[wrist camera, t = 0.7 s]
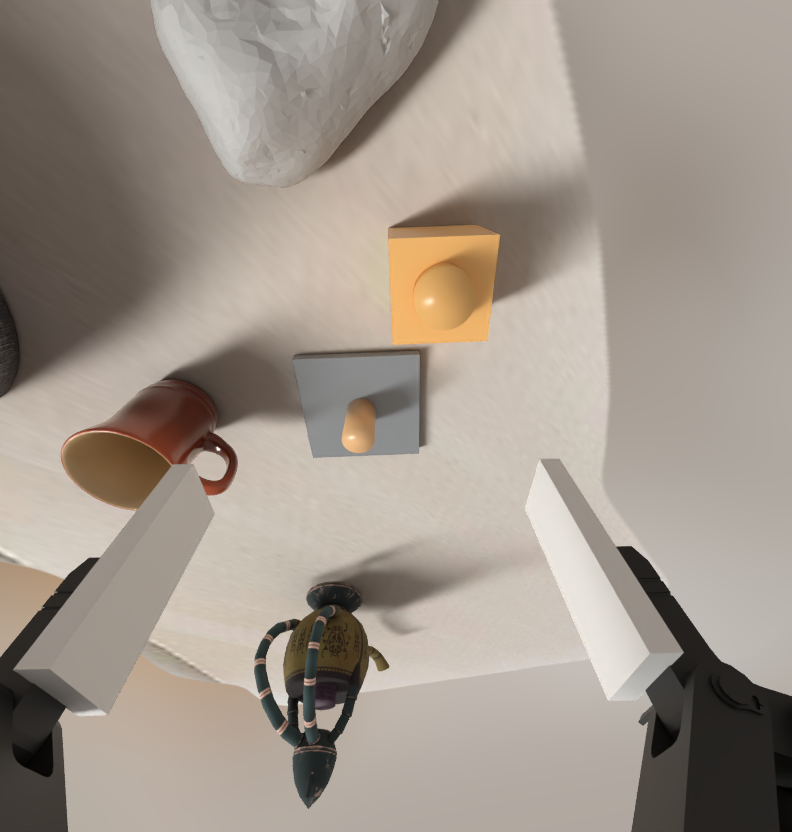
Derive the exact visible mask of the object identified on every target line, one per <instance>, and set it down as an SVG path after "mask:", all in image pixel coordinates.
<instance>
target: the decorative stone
mask: <svg viewBox="0 0 792 832" xmlns="http://www.w3.org/2000/svg"><path fill="white" fill-rule="evenodd" d="M438 2H439V0H150V4H151V8H152V13H153V19H154V25H155V31H156V34H157V37H158V40H159V43H160V46H161V48H162V51H163V53H164V54H165V56H166V58H167V60H168V61H169V63H170V65H171V67H172V68H173V70H174V72H175V74H176V76H177V78H178V80H179V82H180V85H181V87H182V89H183V92H184V94H185V95H186V97H187V99H188V100H189V102H190V103H191V105H192V106H193V108H194V110H195V112H196V114H197V116H198V117H199V119H200V121H201V123H202V126H203V129H204V131H205V133H206V135H207V136H208V138H209V140H210V142H211V144H212V146H213V148H214V150H215V152H216V154H217V156H218V157H219V159H220V161H221V163H222V164H223V166H224V167H225V169H226V170H227V172H228V173H229V174H230V175H231V176H232V177H233V178H235V179H237V180H239V181H241V182H243V183H247V184H257V185H267V186H276V187H282V188H283V187H289V186H292V185H295V184H297V183H299V182H301V181H303V180H305V179H307V178H308V177H309V176H310V175H311V174H312V173H313V172H314V171H315V170H317V169H318V168H320V167H321V166H322V165H323V164H324V163H325V162H327V160H328V159H329V158H330V157H331V156H332V154H333V153H334V152H335V151H336V149H337V148H338V146H339V145H340V144H341V143H342V141H343V140H344V139H345V138H346V137H347V136H348V135H349V133H350V132H351V131H352V130H353V128H354V127H355V126H356V124H357V123H358V122H359V120H360V119H361V118H362V117H363V115H364V114H365V113H366V112H367V110H368V109H369V108H370V107H371V106H372V105H373V104H374V103H375V102H376V101H377V100H378V99H379V98H380V97H381V96H382V95H383V94H384V93H386V92H387V91H388V90H389V89H390V88H391V87H392V85H393V84H394V83H395V82H396V81H397V80H398V79H399V78H400V77H401V76H402V74H403V73H404V72H405V71H406V70H407V68H408V67H409V65H410V64H411V62H412V61H413V59H414V58H415V56H416V55H417V53H418V52H419V50H420V48H421V47H422V45H423V42H424V40H425V38H426V36H427V34H428V31H429V29H430V27H431V24H432V22H433V19H434V16H435V12H436V9H437V6H438Z"/></svg>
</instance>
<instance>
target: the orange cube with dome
mask: <svg viewBox="0 0 792 832" xmlns="http://www.w3.org/2000/svg"><path fill="white" fill-rule="evenodd" d="M388 239H389V264H390V289H391V315H392V339H393V345H397V344H423V343H448V342H473V341H487V340H488V332H489V324H490V315H491V307H492V299H493V290H494V282H495V274H496V265H497V257H498V248H499V240H500V234H498V233H495V232H493V231H490V230H488V229H486V228H483V227H481V226H478V225H451V226H425V227H400V228H388Z"/></svg>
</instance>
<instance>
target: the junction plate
mask: <svg viewBox="0 0 792 832" xmlns="http://www.w3.org/2000/svg"><path fill="white" fill-rule="evenodd" d="M292 362H293V367H294V371H295V376H296V381H297V385H298V390H299V395H300V399H301V404H302V409H303V413H304V418H305V423H306V427H307V432H308V437H309V441H310V446H311V451H312V455H313V458H319V457H344V456H368V455H393V454H418V453H419V388H420V354H419V351H394V352H369V353H343V354H318V355H294V357H293V359H292Z"/></svg>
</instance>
